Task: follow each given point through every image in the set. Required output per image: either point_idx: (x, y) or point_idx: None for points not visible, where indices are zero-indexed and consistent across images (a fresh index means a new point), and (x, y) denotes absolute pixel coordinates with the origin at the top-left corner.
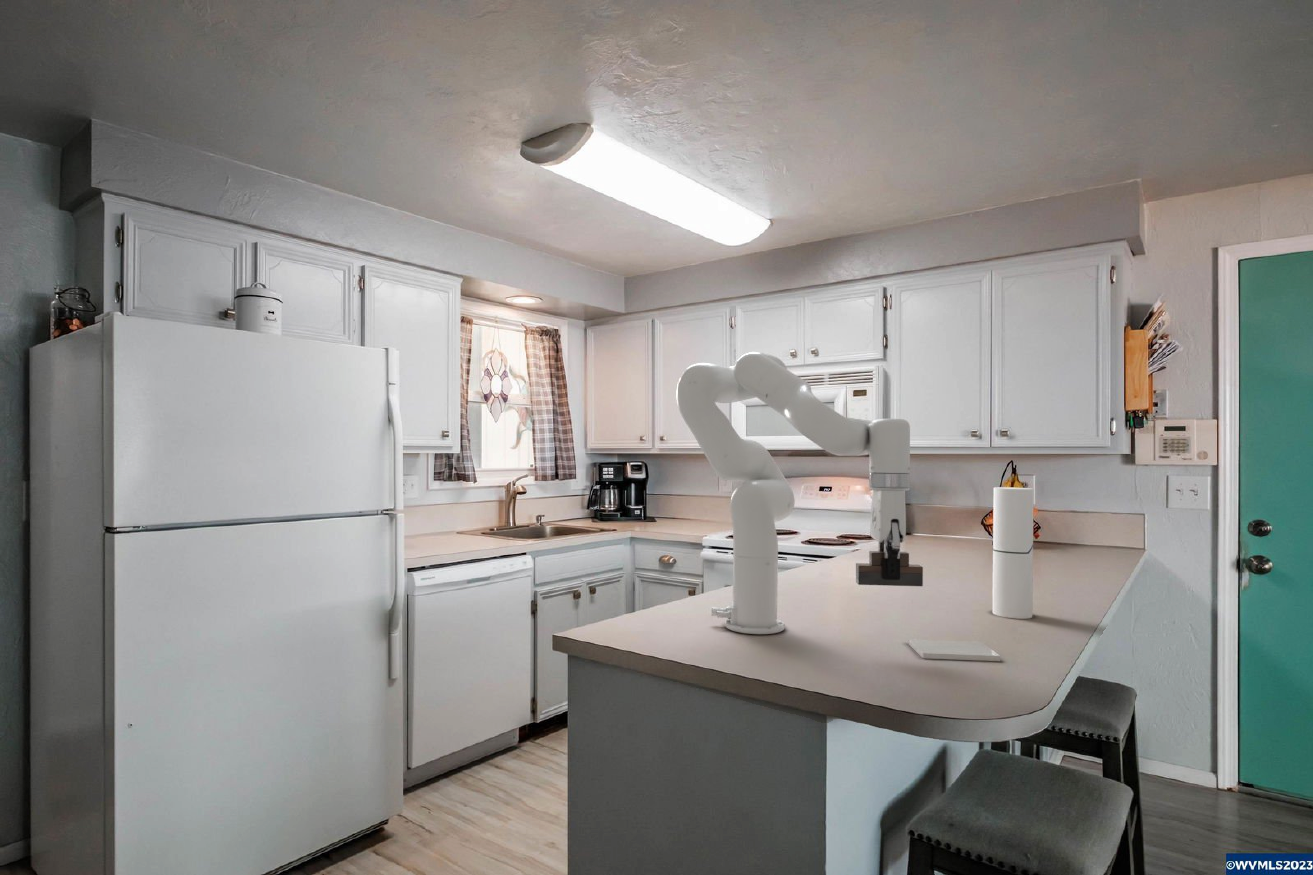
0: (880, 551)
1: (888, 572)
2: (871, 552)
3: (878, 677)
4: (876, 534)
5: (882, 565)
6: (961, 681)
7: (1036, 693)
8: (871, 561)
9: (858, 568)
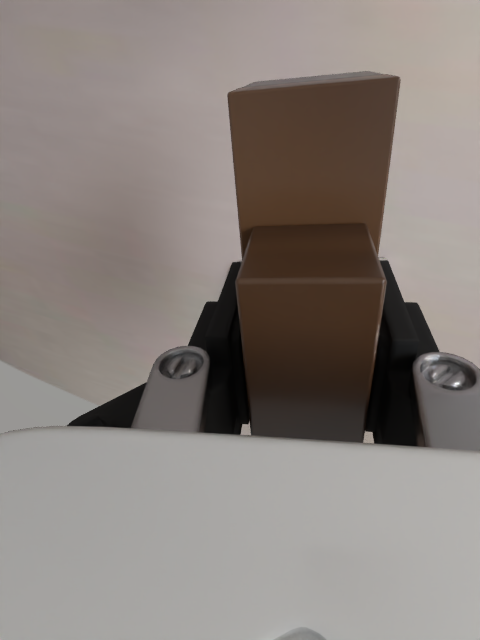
0: (339, 376)
1: (204, 308)
2: (253, 280)
3: (20, 105)
4: (96, 512)
5: (233, 303)
6: (86, 295)
7: (75, 383)
8: (254, 238)
9: (239, 89)
